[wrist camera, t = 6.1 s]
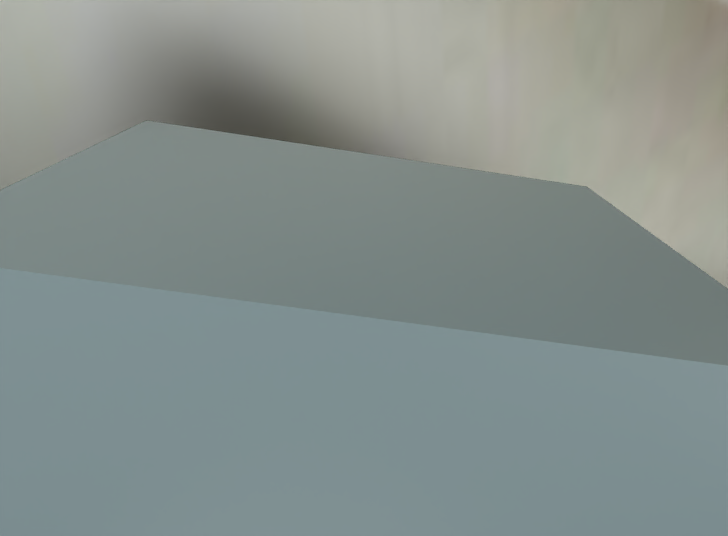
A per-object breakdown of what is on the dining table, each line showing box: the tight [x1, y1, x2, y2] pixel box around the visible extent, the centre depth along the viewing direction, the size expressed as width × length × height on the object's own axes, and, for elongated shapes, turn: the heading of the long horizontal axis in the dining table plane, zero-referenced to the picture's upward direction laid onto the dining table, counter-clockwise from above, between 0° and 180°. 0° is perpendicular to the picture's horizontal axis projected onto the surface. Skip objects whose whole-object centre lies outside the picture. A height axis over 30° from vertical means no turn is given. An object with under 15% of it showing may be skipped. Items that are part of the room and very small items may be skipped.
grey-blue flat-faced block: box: [0, 120, 728, 536], centre depth 13 cm, size 10×10×9 cm
